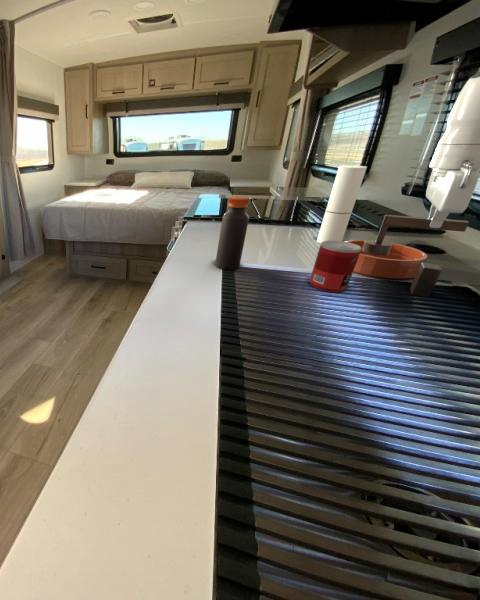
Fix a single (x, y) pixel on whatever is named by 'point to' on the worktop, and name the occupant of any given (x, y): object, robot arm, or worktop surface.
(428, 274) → the dark brown upright post
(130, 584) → the worktop surface
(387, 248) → the brown bent bar
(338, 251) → the canned food
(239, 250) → the bottle
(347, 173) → the cylindrical container
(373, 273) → the bowl
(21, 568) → the worktop surface
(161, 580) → the worktop surface
